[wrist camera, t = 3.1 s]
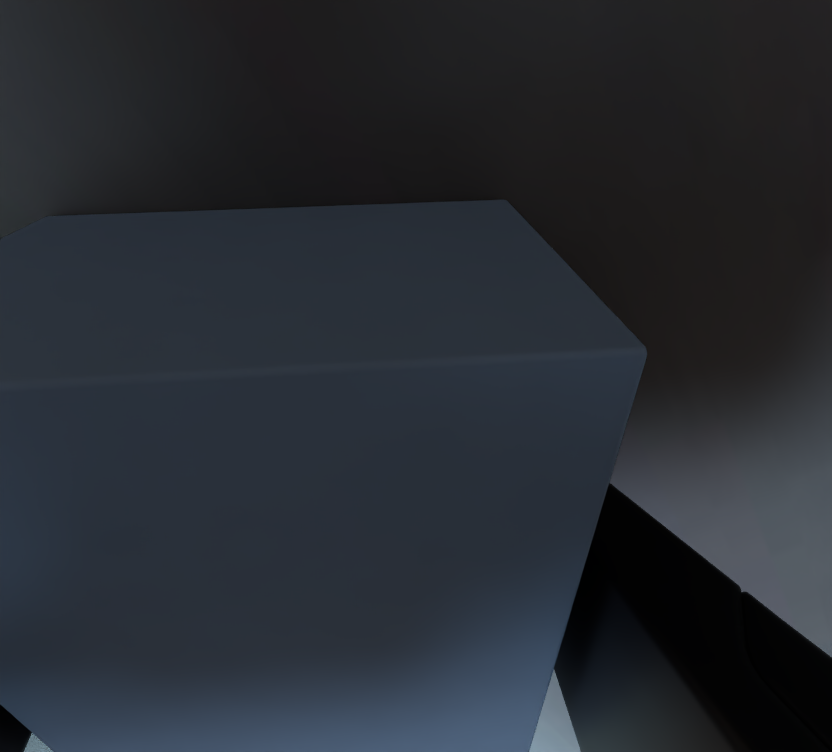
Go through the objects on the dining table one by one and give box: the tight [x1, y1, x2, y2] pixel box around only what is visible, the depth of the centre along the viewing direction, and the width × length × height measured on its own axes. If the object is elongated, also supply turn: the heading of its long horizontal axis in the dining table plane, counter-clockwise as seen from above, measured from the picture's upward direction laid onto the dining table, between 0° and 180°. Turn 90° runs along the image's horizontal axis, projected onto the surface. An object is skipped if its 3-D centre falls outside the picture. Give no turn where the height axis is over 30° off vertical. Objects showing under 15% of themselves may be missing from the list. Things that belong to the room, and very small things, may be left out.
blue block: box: [0, 200, 647, 752], centre depth 7 cm, size 6×7×4 cm
